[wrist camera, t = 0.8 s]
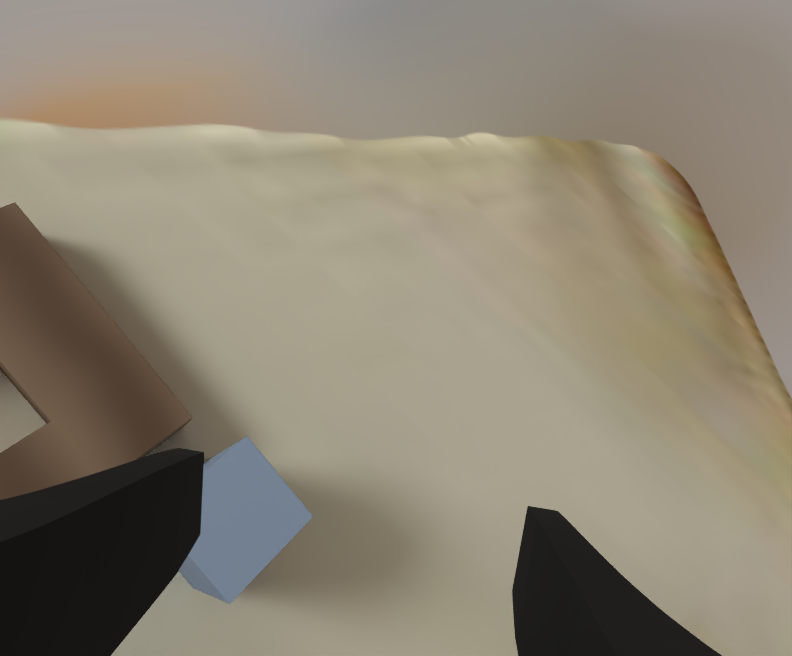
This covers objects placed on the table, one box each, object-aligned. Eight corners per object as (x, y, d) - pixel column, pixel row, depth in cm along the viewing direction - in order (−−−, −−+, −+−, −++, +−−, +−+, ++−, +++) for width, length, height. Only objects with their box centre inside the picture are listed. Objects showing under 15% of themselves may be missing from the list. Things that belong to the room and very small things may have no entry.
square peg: (193, 587, 23) (229, 603, 18) (135, 519, 23) (153, 513, 17) (261, 521, 26) (313, 516, 20) (209, 458, 25) (247, 436, 20)
